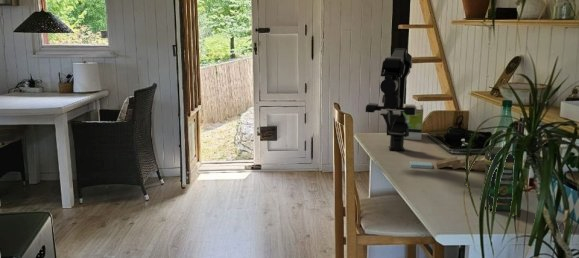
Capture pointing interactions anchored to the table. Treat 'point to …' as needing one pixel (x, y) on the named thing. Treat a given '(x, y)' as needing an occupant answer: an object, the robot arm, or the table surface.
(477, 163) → the domino
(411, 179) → the table surface
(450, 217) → the table surface
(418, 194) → the table surface
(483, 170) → the domino
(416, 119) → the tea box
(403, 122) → the robot arm
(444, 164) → the domino
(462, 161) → the domino
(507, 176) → the coffee jar
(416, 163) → the blue-grey rectangular block
